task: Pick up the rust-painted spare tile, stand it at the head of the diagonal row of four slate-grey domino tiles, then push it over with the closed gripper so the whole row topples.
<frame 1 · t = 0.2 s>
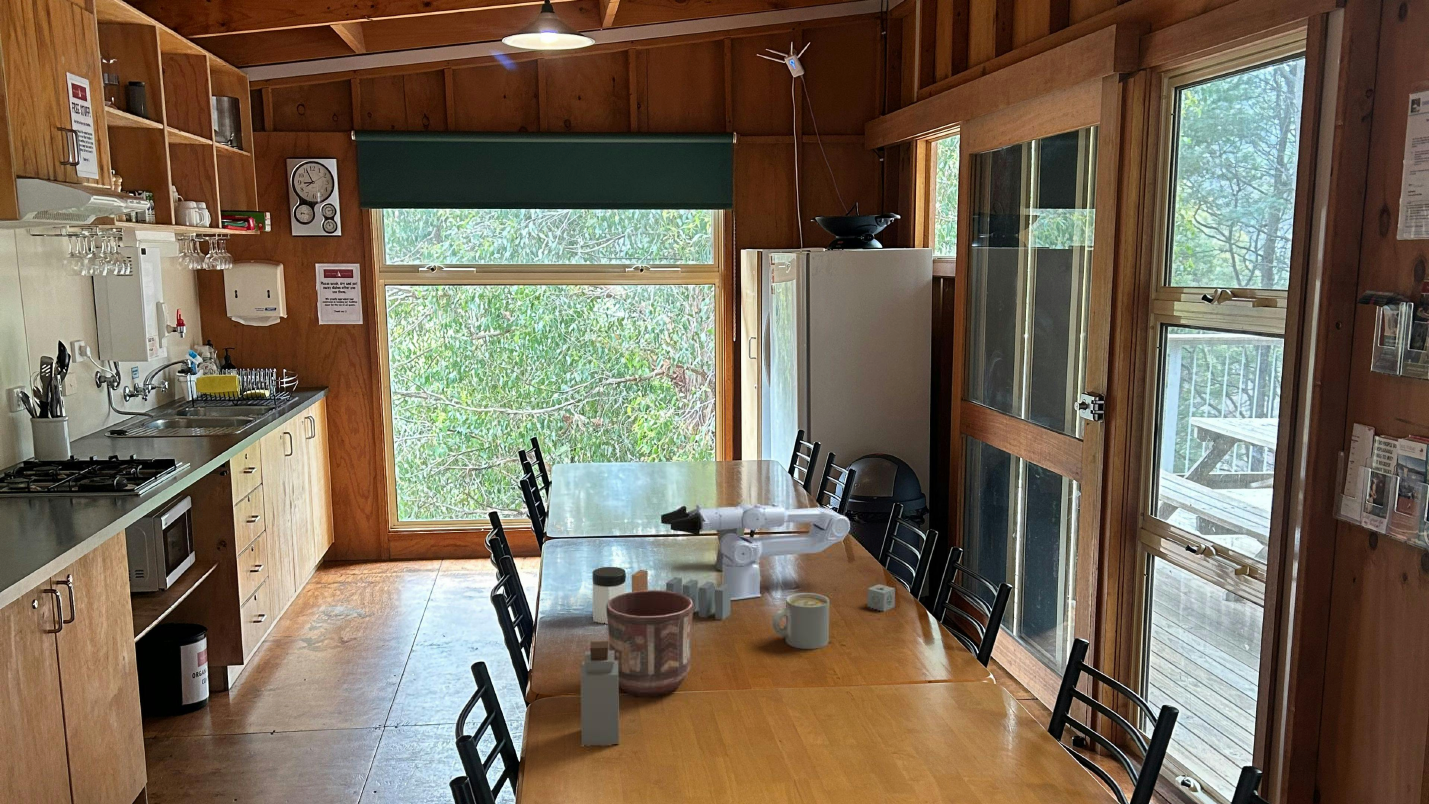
hand: (666, 522, 264), 22 cm above the table, tool horizontal, fingers open, 7 cm apart
coffee mug: (799, 642, 241), on the table
perfume bottle: (600, 738, 193), on the table
white cube: (880, 608, 265), on the table
jar: (609, 619, 256), on the table
domino 2: (674, 608, 263), on the table
coffeepot: (733, 567, 298), on the table
domino 5: (722, 616, 258), on the table
domino 4: (706, 613, 260), on the table
pottery: (650, 686, 217), on the table
domino 1: (639, 600, 269), on the table
domino 3: (690, 611, 261), on the table
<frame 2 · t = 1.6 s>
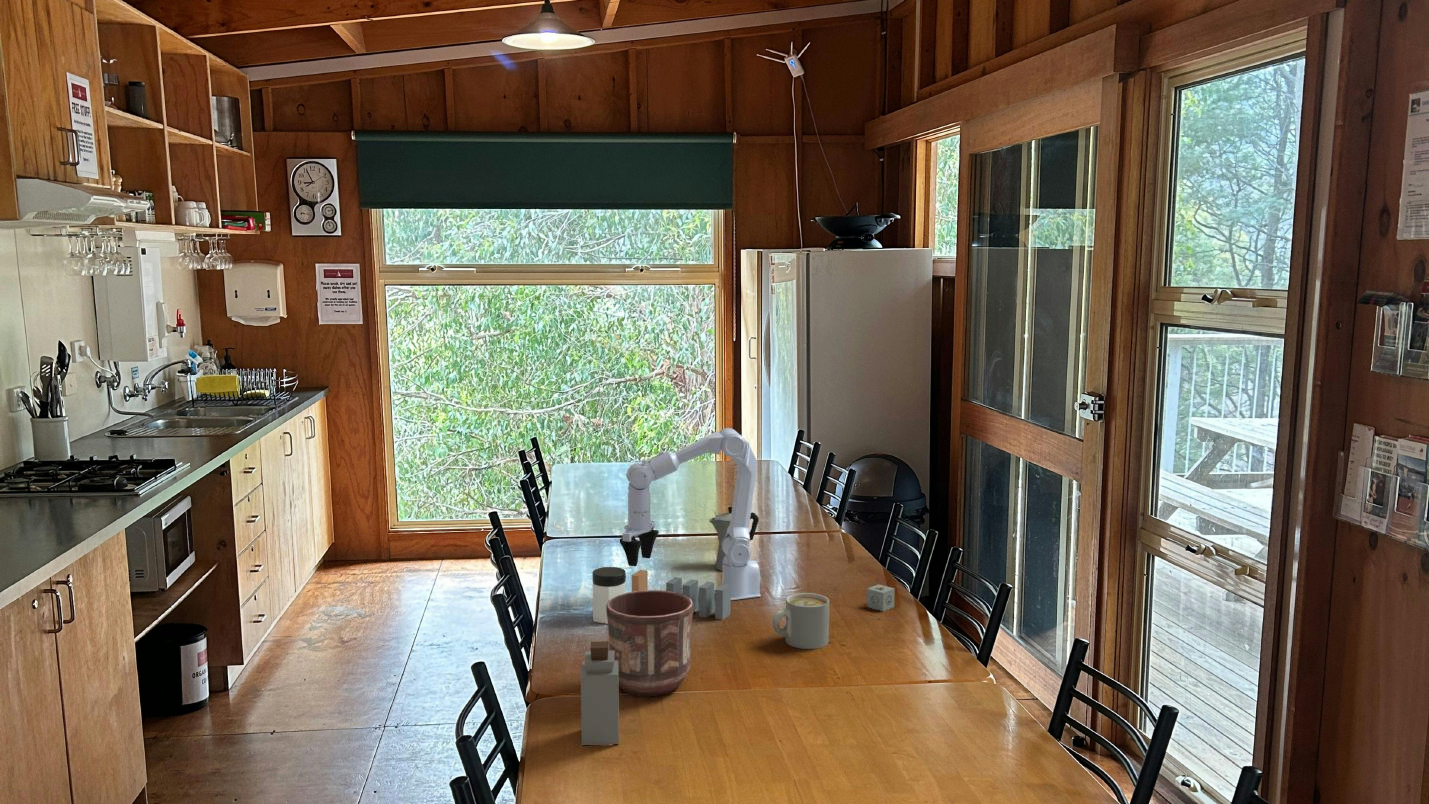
hand: (639, 561, 268), 10 cm above the table, tool pointing down, fingers open, 7 cm apart
nothing on the table moved.
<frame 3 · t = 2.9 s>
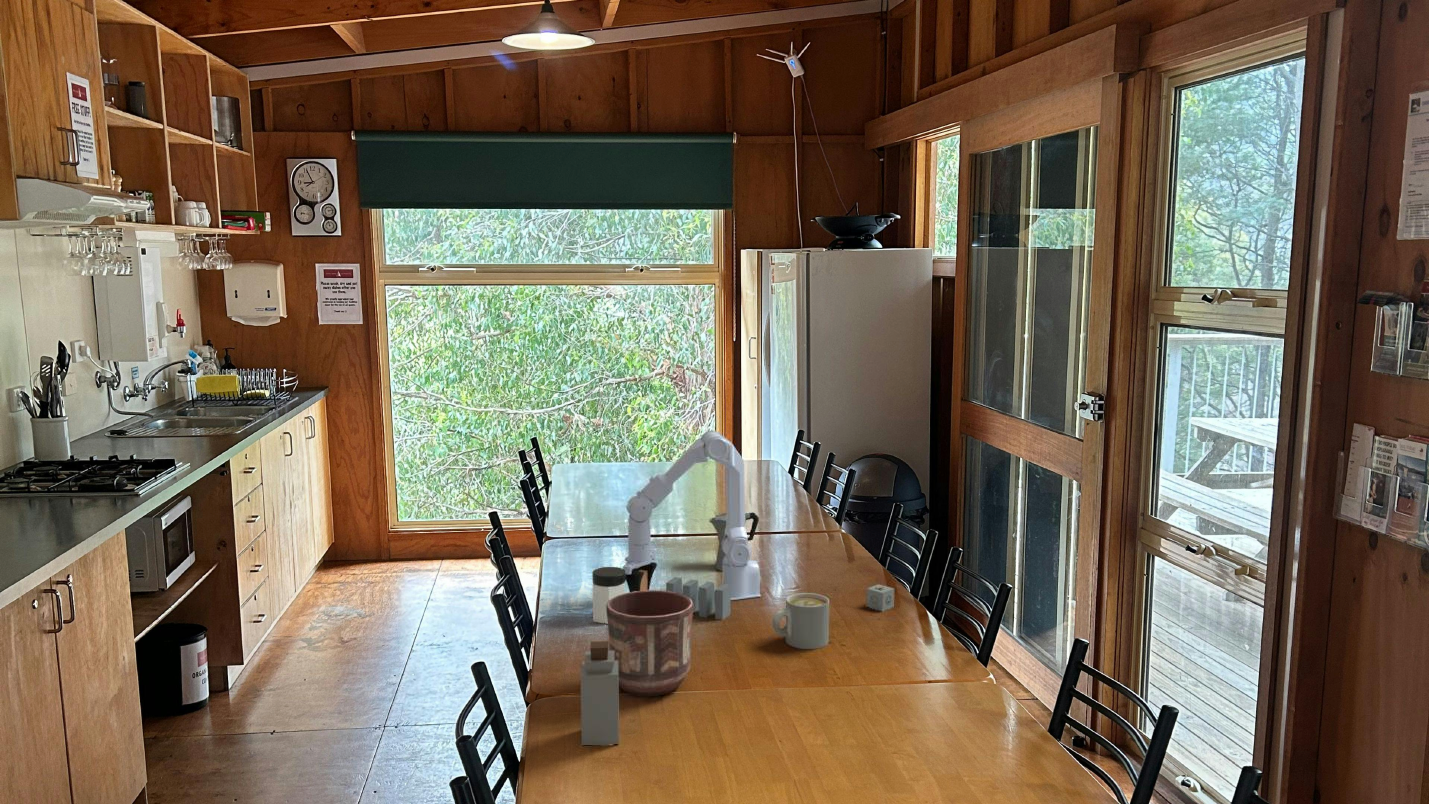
hand: (639, 593, 269), 2 cm above the table, tool pointing down, fingers closed on domino 1, 5 cm apart
domino 1: (639, 600, 269), on the table, touching gripper
everything else where it was.
when the fingers open (3 cm above the table, at t = 6.4 s): domino 1 stays where it is, on the table.
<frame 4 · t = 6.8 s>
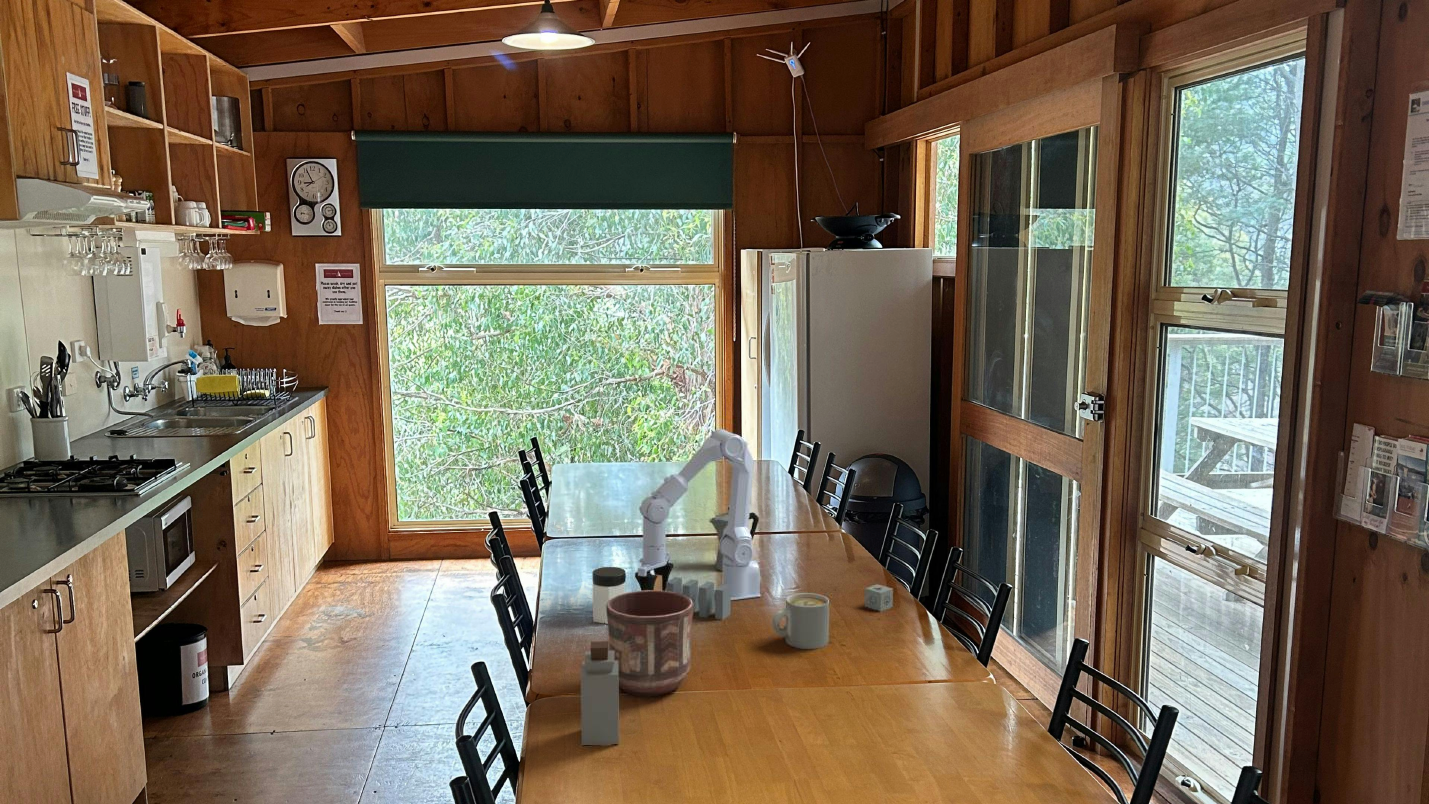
hand: (654, 595, 265), 3 cm above the table, tool pointing down, fingers open, 7 cm apart
domino 1: (654, 605, 265), on the table
everything else where it was.
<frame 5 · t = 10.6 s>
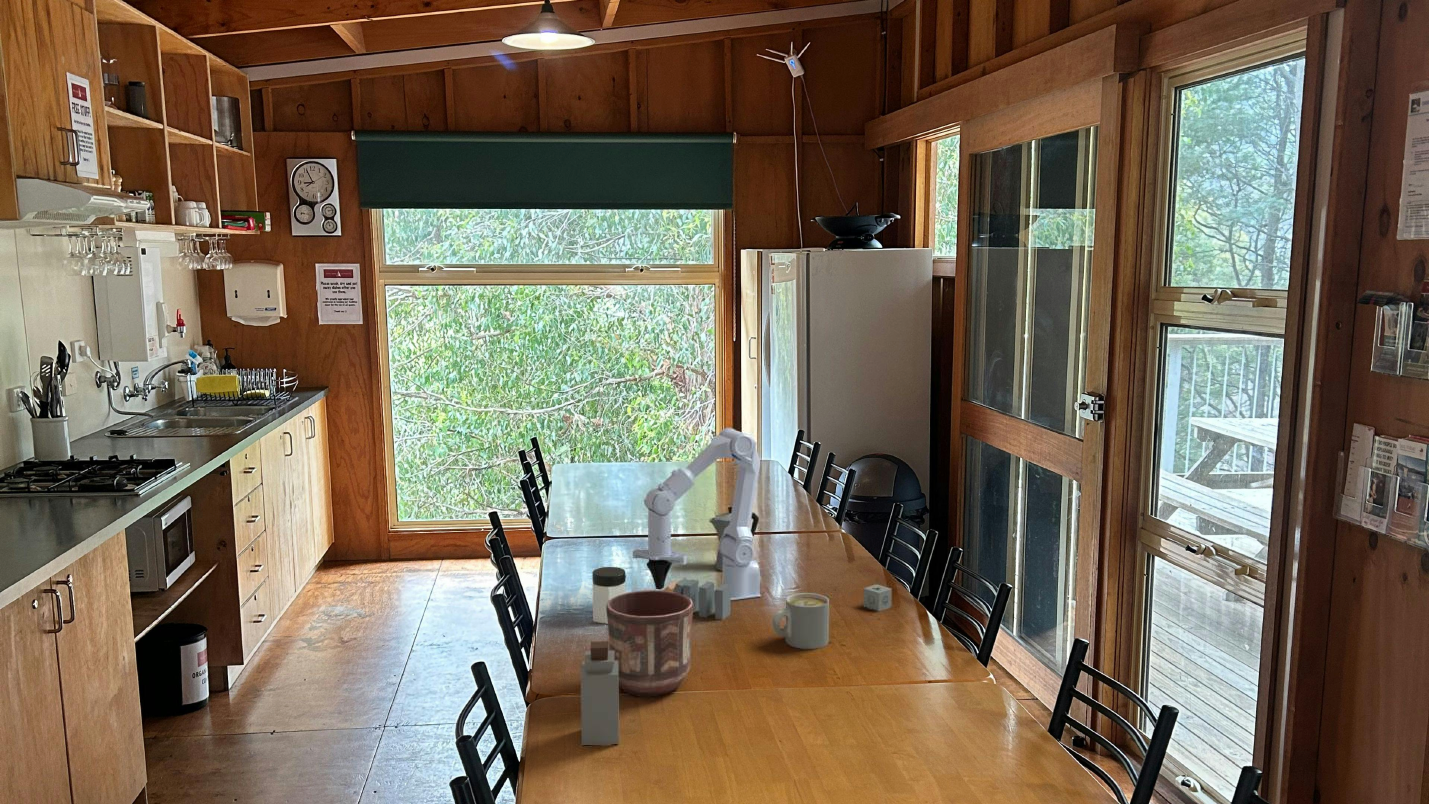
hand: (659, 588, 264), 5 cm above the table, tool pointing down, fingers closed
domino 2: (674, 607, 263), on the table, tilted 21°
domino 1: (655, 603, 265), point 1 cm above the table, tilted 45°
everything else where it was.
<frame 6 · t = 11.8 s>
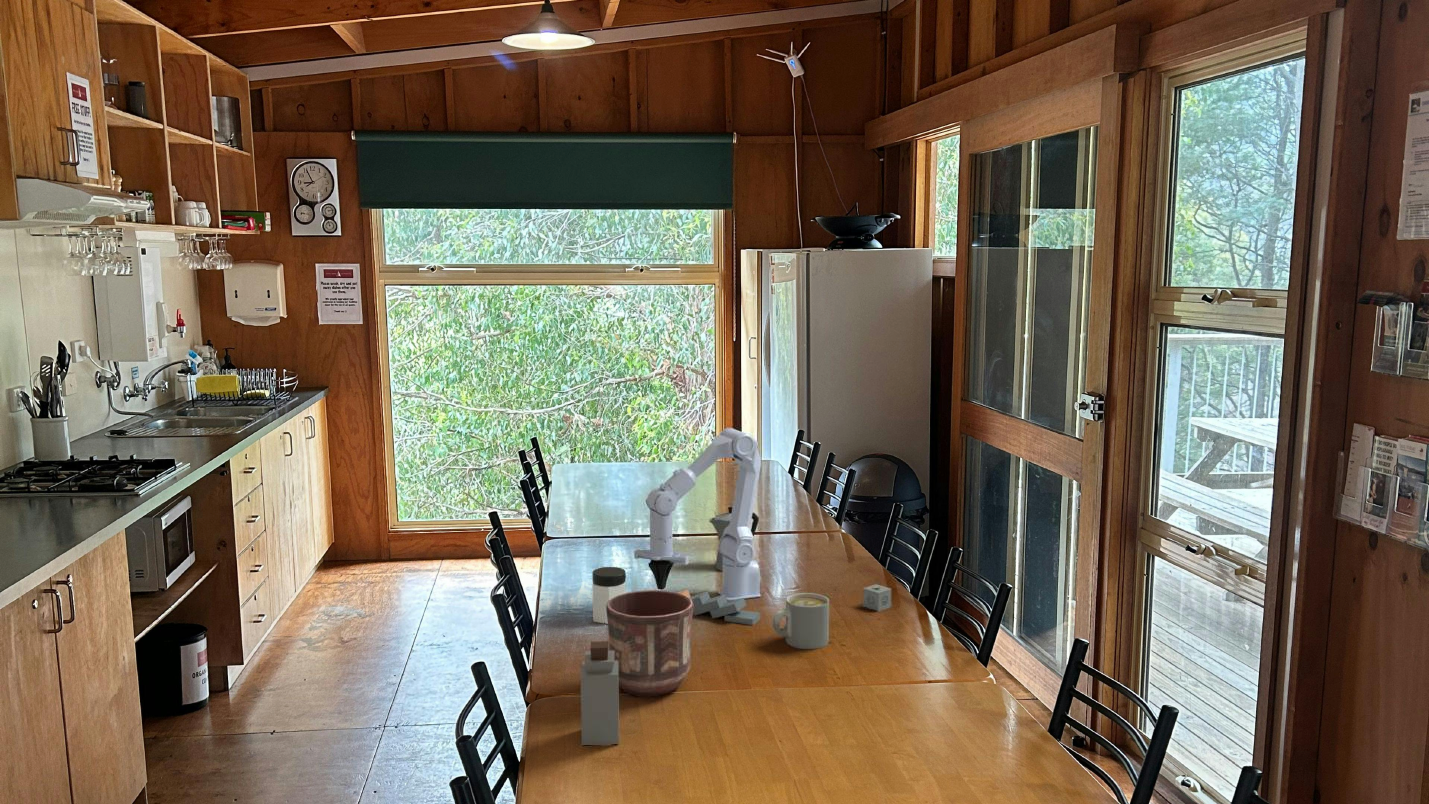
hand: (661, 588, 264), 5 cm above the table, tool pointing down, fingers closed
domino 2: (680, 606, 263), point 1 cm above the table, tilted 65°, touching domino 1, domino 3
domino 5: (728, 615, 257), on the table, tilted 90°, touching domino 4
domino 4: (716, 611, 258), point 1 cm above the table, tilted 66°, touching domino 5
domino 1: (660, 603, 265), point 1 cm above the table, tilted 68°, touching domino 2
domino 3: (697, 608, 261), point 1 cm above the table, tilted 66°, touching domino 2
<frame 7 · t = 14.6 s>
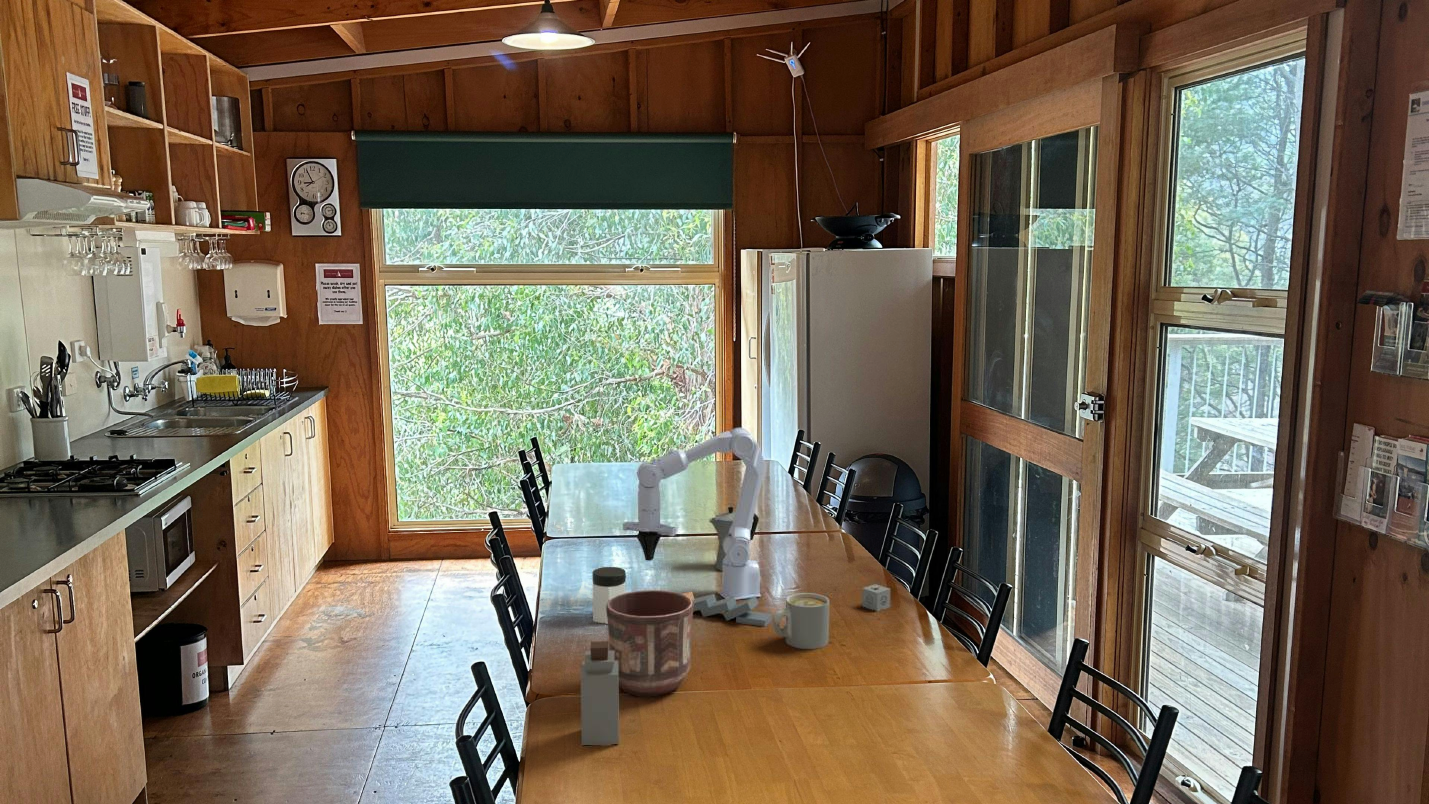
hand: (649, 559, 270), 10 cm above the table, tool pointing down, fingers closed
domino 2: (686, 607, 262), point 1 cm above the table, tilted 69°, touching domino 1, domino 3
domino 5: (739, 617, 256), on the table, tilted 90°, touching domino 4
domino 4: (728, 613, 257), point 1 cm above the table, tilted 60°, touching domino 3, domino 5
domino 3: (705, 610, 260), point 1 cm above the table, tilted 68°, touching domino 2, domino 4
at the end: domino 5 tilted 90°; domino 1 tilted 71°; domino 1 inside the target area (2.3 cm from its centre), point 0.9 cm above the table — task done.
